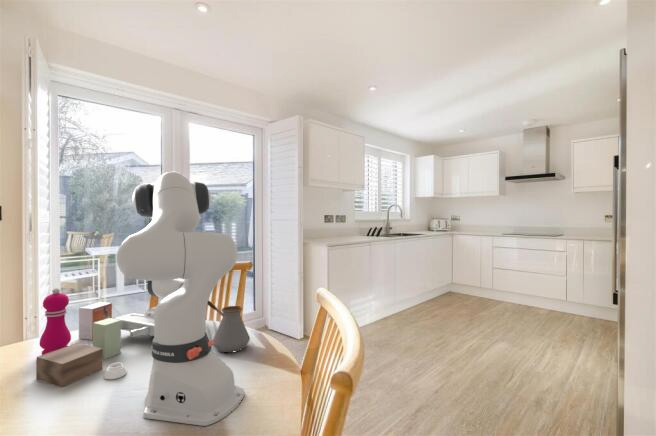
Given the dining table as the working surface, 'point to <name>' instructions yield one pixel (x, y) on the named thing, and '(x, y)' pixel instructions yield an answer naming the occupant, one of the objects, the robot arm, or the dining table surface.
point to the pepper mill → (55, 322)
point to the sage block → (107, 336)
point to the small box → (92, 317)
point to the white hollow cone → (115, 371)
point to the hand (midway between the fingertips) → (120, 331)
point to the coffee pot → (230, 330)
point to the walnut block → (69, 364)
